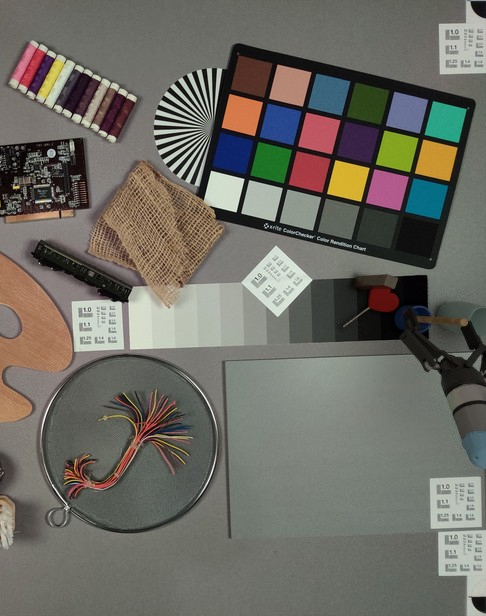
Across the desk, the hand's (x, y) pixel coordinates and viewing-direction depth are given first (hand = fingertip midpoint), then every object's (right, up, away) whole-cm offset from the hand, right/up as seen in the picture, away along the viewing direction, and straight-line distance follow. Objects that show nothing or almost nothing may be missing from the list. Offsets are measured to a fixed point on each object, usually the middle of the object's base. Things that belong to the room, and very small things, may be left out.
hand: (436, 318), depth 133 cm
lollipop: (-10, +2, +11) cm, 15 cm away
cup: (+8, +1, +11) cm, 14 cm away
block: (-12, +8, +11) cm, 18 cm away
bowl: (0, 0, +11) cm, 11 cm away
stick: (0, 0, +10) cm, 10 cm away
